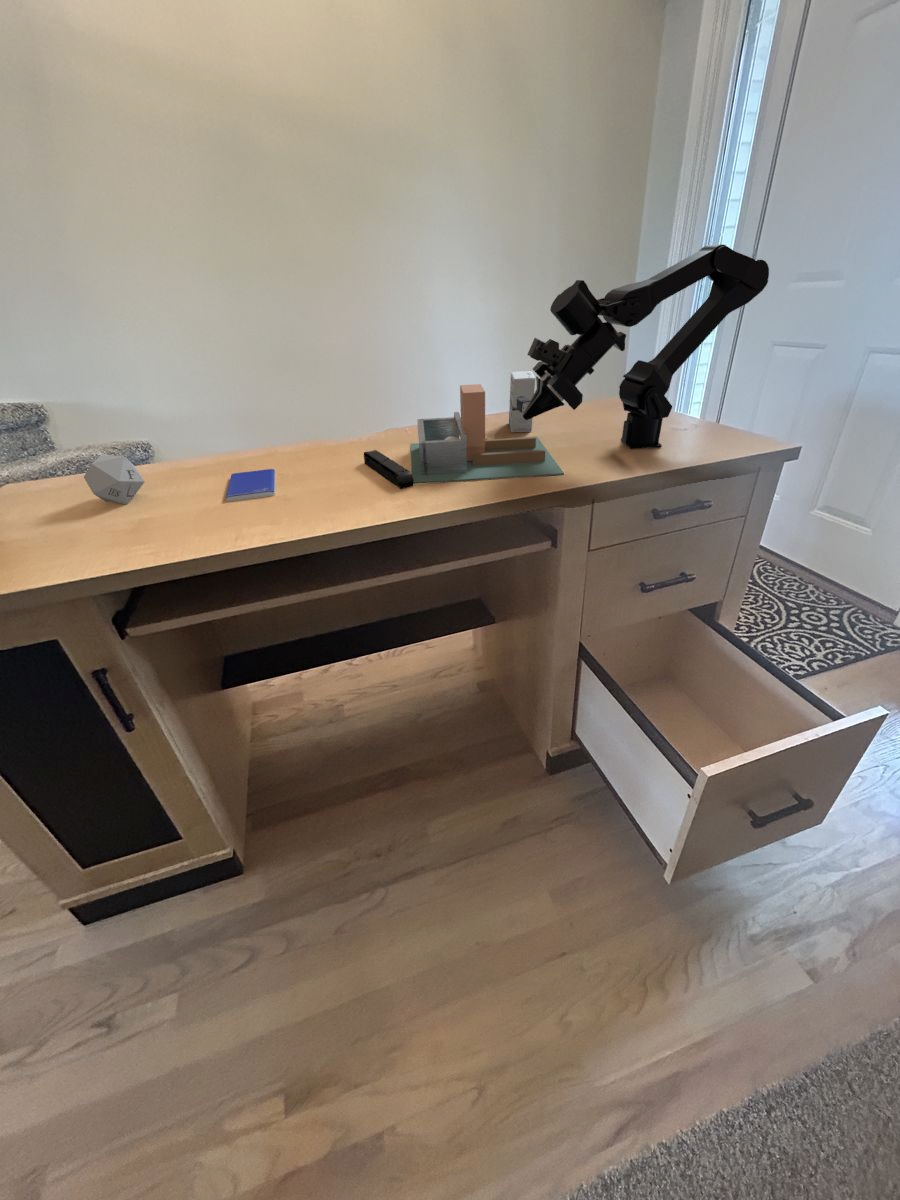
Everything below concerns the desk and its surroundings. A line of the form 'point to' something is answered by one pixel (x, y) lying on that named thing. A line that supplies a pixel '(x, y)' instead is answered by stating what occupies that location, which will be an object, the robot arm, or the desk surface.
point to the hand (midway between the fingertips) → (524, 418)
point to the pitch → (496, 462)
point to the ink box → (520, 400)
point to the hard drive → (251, 485)
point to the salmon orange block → (473, 418)
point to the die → (113, 479)
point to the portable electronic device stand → (388, 469)
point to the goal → (442, 445)
